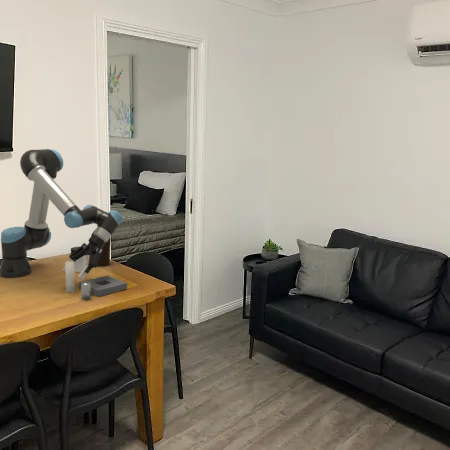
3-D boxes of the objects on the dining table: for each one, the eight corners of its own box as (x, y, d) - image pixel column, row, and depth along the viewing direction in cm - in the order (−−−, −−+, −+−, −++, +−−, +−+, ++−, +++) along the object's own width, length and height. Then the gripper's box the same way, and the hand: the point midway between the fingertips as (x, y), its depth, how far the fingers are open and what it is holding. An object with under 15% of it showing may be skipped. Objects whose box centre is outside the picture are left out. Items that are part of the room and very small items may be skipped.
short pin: (79, 298, 214) (79, 283, 213) (87, 296, 217) (87, 281, 216) (84, 300, 212) (84, 285, 210) (92, 298, 215) (92, 283, 213)
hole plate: (79, 288, 227) (78, 282, 227) (107, 281, 239) (107, 275, 239) (98, 296, 217) (98, 290, 216) (127, 289, 229) (127, 283, 228)
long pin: (64, 291, 223) (63, 262, 220) (72, 289, 226) (71, 260, 223) (69, 293, 220) (68, 263, 218) (76, 291, 223) (76, 262, 220)
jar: (82, 273, 251) (81, 250, 249) (67, 271, 252) (67, 249, 250) (90, 268, 260) (89, 247, 257) (76, 267, 261) (75, 245, 259)
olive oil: (112, 261, 274) (111, 218, 269) (109, 267, 264) (108, 222, 259) (93, 261, 273) (92, 218, 268) (89, 266, 263) (88, 222, 258)
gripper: (119, 247, 224) (92, 285, 216) (89, 238, 240) (63, 273, 232) (110, 238, 219) (82, 276, 211) (79, 229, 235) (52, 265, 227)
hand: (72, 275), depth 221 cm, fingers open, 13 cm apart
